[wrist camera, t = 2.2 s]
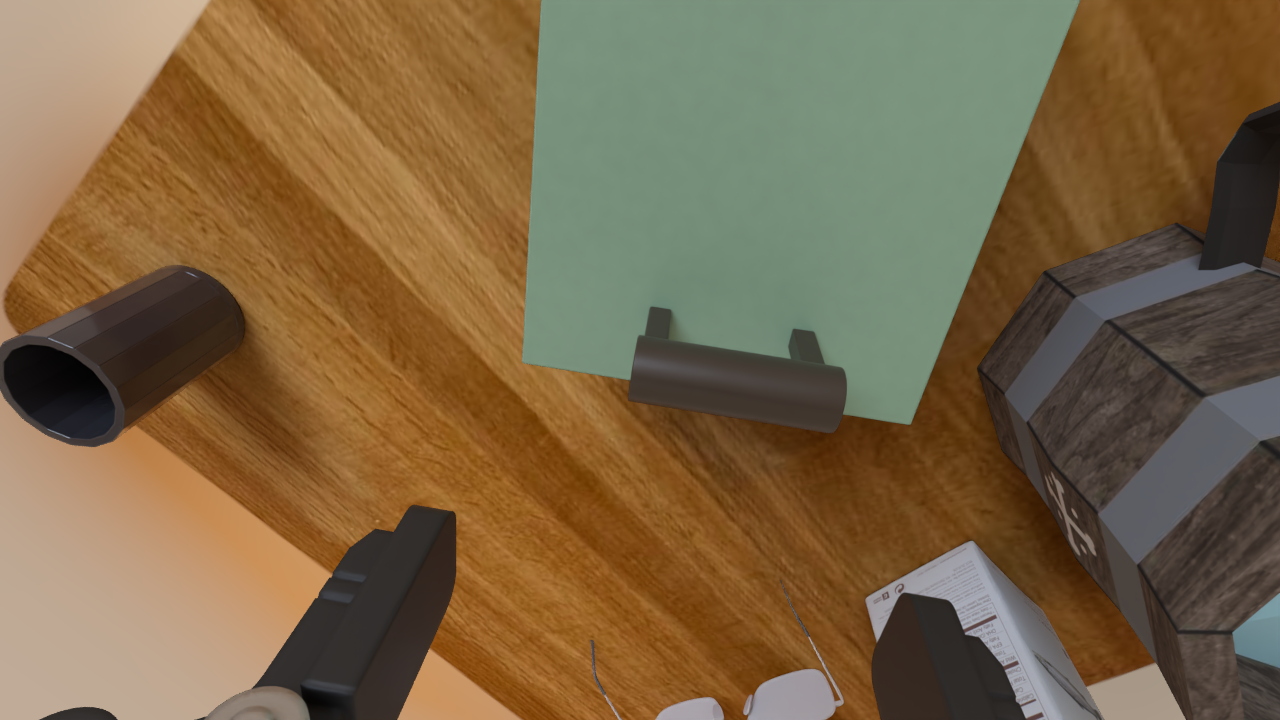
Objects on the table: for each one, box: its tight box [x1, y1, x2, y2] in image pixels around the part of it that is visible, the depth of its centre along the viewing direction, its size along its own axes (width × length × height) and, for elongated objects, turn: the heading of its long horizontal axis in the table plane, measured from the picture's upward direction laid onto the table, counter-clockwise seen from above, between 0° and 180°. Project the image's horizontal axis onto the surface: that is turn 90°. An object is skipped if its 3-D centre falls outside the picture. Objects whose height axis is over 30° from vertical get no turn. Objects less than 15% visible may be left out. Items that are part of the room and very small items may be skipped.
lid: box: [522, 0, 1080, 433], centre depth 16 cm, size 18×13×5 cm
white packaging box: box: [865, 541, 1104, 720], centre depth 33 cm, size 7×7×13 cm
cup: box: [0, 265, 244, 447], centre depth 30 cm, size 5×5×8 cm
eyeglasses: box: [591, 580, 844, 720], centre depth 41 cm, size 14×8×4 cm, turn 119°
